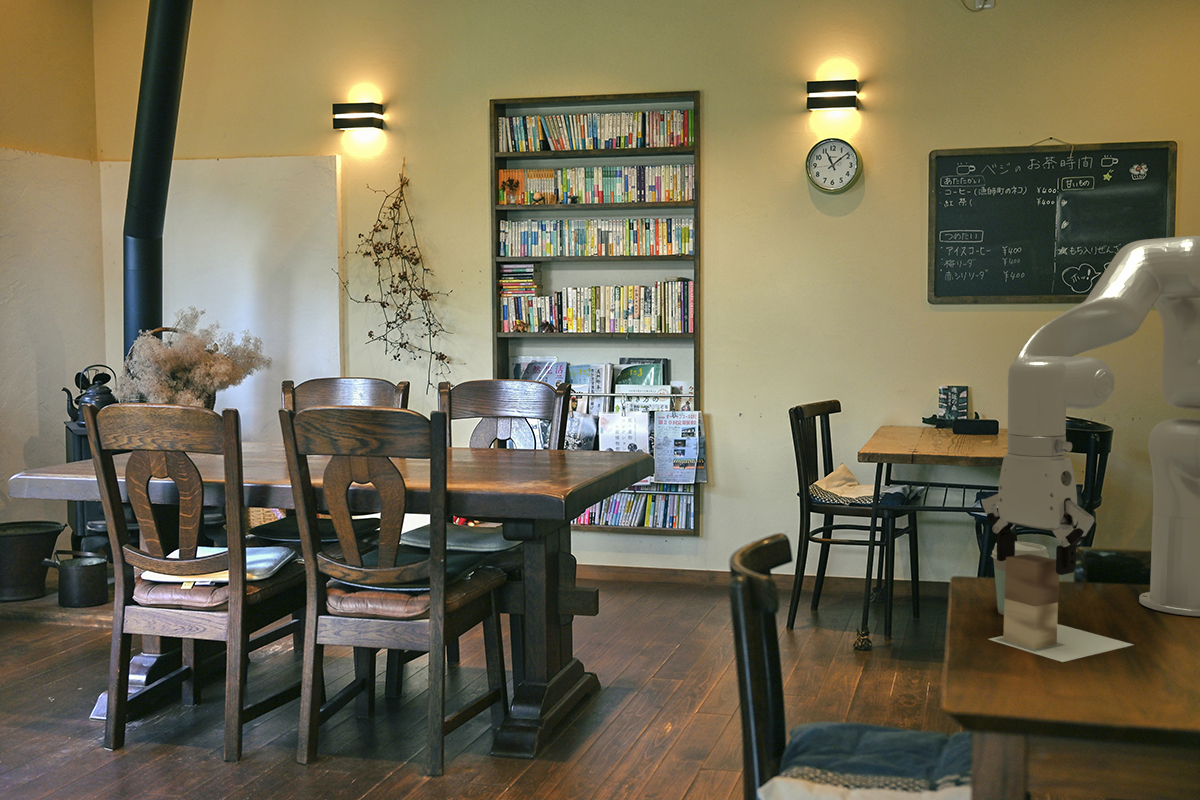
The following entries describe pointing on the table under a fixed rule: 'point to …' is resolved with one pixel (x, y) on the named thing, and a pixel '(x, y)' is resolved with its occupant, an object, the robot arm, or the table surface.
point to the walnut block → (1031, 580)
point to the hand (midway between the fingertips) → (1034, 566)
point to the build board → (1071, 644)
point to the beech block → (1030, 624)
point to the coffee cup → (1000, 567)
